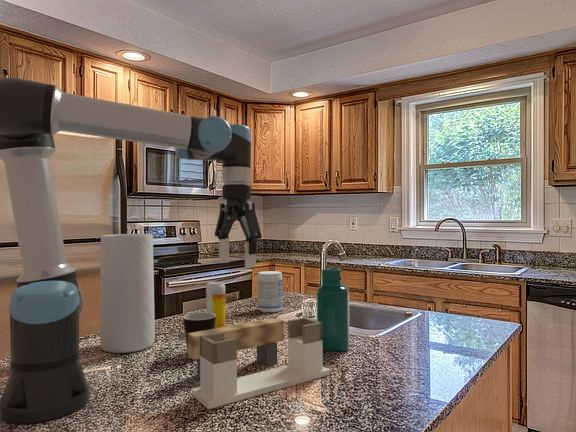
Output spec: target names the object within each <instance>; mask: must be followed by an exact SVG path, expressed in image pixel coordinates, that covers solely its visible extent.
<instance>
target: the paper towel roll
mask: <svg viewBox="0 0 576 432" xmlns="http://www.w3.org/2000/svg"><path fill="white" fill-rule="evenodd" d="M153 237H154V235H153V234H151V233H120V234H119V233H118V234H116V233H115V234H103V235H100V264H99V265H100V269H99V270H100V276H99V277H100V279H99V280H100V282H99V283H100V285H99V286H100V287H99V288H100V289H99V290H100V291H99V292H100V295H99V296H100V297H99V299H100V325H99V327H100V347H101V349H102V350H103V351H105V353H106V352H107V353H112V354H128V353H134V352H139V351H143V350H146V349H148V348H150V347H151V346H152V345H153V344H154V343H155V335H156V333H155V325H156V323H155V322H156V321H155V320H156V319H155V273H154V238H153Z"/></svg>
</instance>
